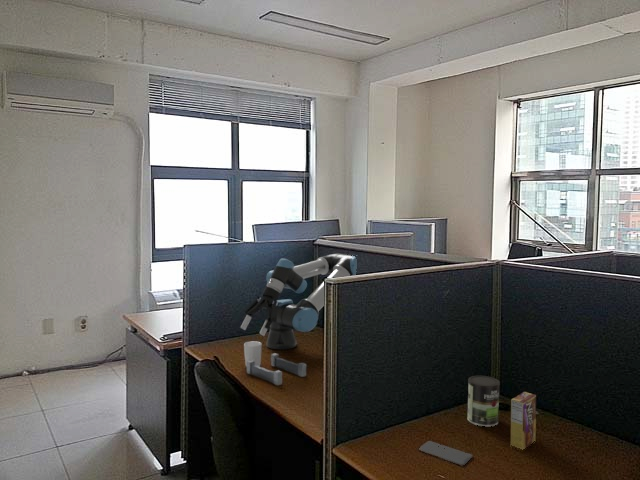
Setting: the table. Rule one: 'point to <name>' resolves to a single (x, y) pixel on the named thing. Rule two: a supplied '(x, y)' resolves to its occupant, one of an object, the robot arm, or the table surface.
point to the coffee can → (483, 400)
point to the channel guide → (277, 375)
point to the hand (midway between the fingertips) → (251, 331)
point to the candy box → (523, 420)
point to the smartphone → (446, 452)
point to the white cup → (253, 352)
